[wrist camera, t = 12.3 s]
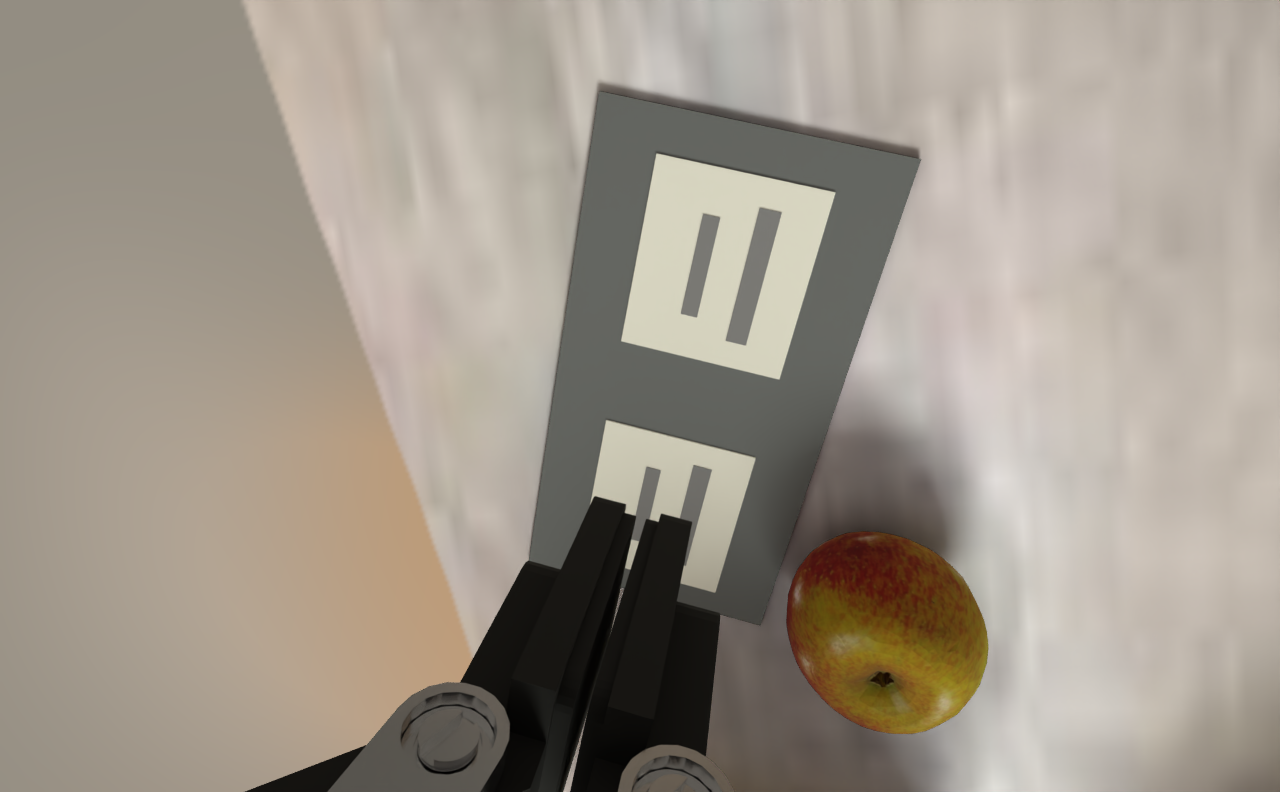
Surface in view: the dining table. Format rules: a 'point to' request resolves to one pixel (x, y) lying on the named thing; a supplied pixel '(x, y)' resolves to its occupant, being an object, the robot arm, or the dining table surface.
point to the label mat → (710, 334)
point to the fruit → (886, 632)
